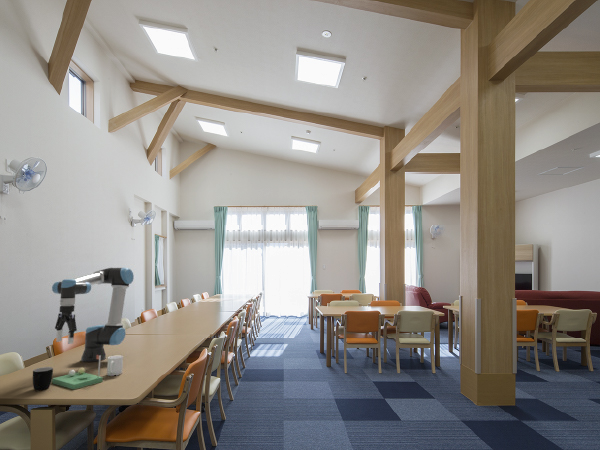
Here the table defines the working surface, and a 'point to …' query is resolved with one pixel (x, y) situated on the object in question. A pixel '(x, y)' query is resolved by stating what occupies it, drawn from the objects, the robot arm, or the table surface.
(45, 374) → the mug
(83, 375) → the green
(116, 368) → the cup
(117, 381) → the table surface
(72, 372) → the ball
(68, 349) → the table surface
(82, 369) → the yellow ball
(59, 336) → the robot arm
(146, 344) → the table surface
